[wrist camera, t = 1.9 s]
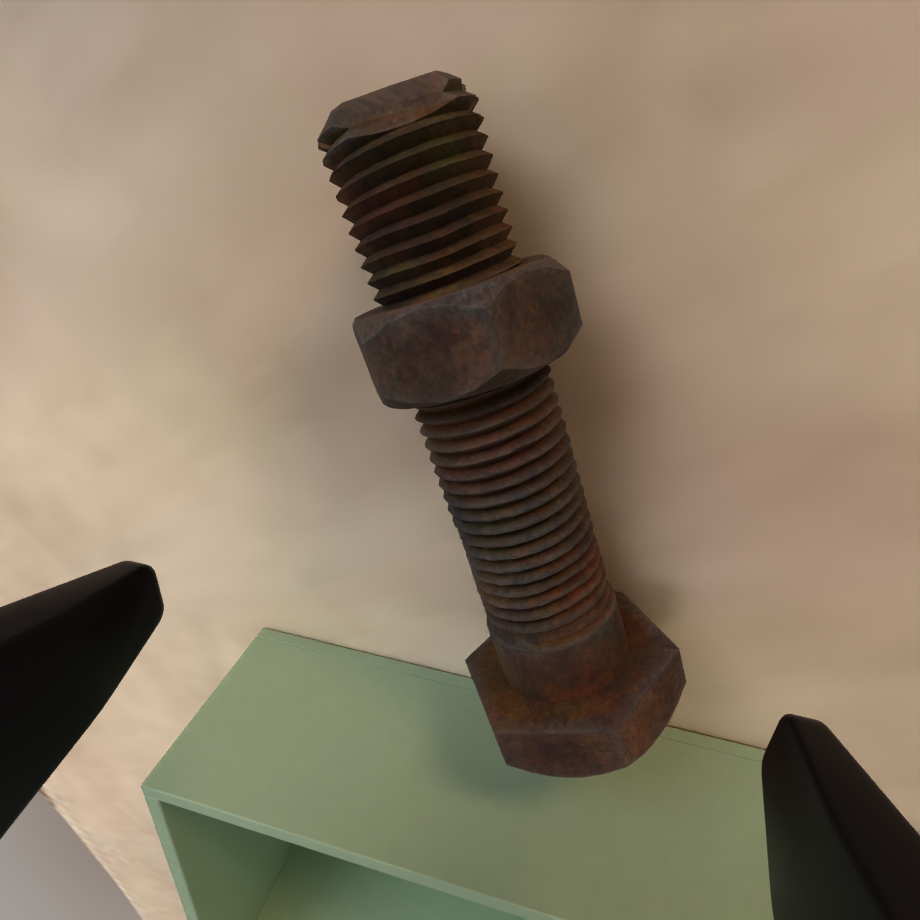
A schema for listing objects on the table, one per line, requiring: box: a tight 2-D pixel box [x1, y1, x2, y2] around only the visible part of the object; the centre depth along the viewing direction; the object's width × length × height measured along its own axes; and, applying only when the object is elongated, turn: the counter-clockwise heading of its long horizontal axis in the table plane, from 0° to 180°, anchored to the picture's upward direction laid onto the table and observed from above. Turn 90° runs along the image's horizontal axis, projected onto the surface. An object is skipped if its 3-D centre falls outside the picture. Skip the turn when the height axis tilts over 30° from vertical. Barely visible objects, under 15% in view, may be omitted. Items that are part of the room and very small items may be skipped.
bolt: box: [317, 71, 686, 778], centre depth 13 cm, size 6×5×15 cm
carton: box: [141, 628, 774, 920], centre depth 21 cm, size 19×14×6 cm
